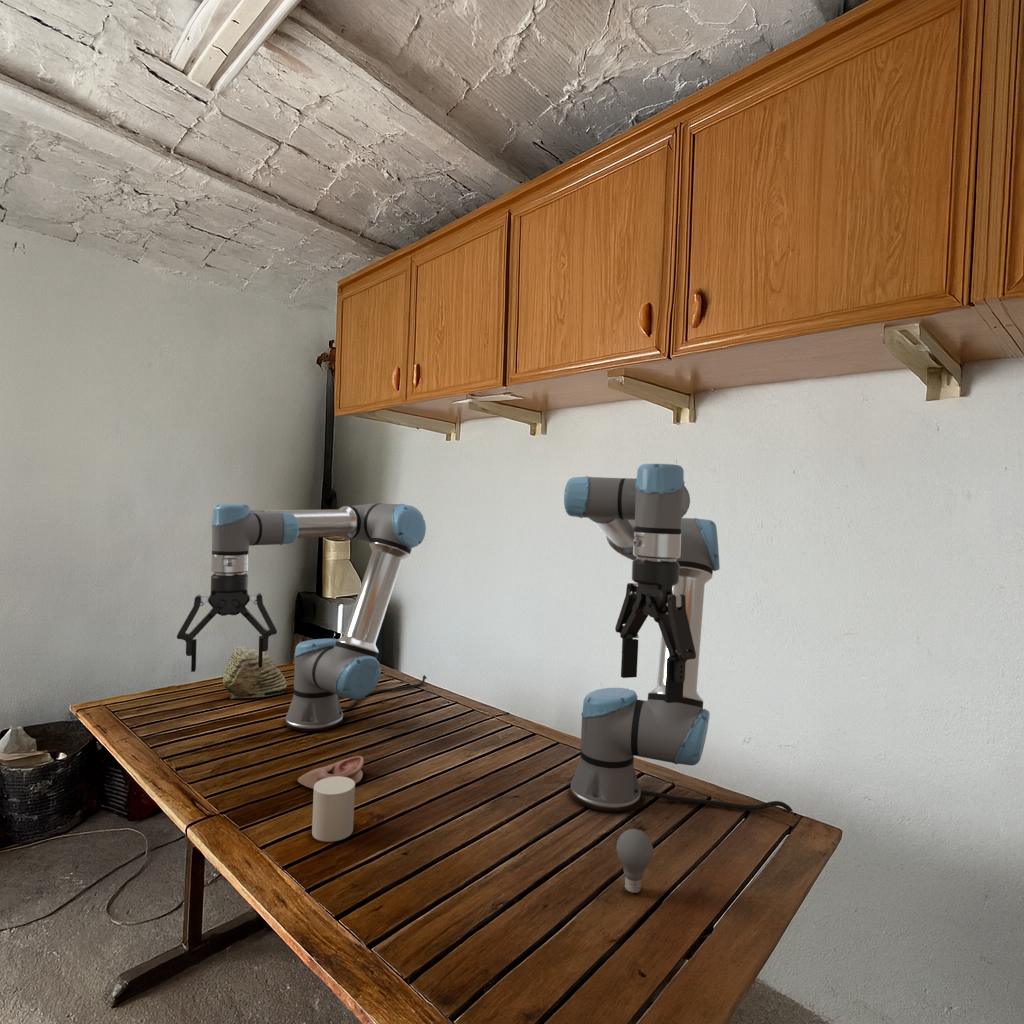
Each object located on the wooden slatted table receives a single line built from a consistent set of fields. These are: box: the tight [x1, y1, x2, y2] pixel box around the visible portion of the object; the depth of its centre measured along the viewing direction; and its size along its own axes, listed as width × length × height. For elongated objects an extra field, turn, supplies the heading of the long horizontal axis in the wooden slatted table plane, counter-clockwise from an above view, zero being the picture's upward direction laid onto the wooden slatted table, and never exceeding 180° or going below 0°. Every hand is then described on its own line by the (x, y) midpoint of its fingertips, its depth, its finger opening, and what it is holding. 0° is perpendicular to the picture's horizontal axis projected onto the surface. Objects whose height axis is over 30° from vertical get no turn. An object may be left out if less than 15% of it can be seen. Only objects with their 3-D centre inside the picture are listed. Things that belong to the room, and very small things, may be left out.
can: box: [311, 776, 356, 843], centre depth 120 cm, size 8×8×9 cm
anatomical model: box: [297, 755, 364, 790], centre depth 142 cm, size 13×4×12 cm
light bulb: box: [615, 828, 654, 894], centre depth 106 cm, size 6×6×10 cm
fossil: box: [222, 646, 288, 699], centre depth 198 cm, size 9×18×15 cm, turn 132°
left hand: (227, 668), depth 141 cm, fingers open, 13 cm apart
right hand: (649, 688), depth 103 cm, fingers open, 13 cm apart
